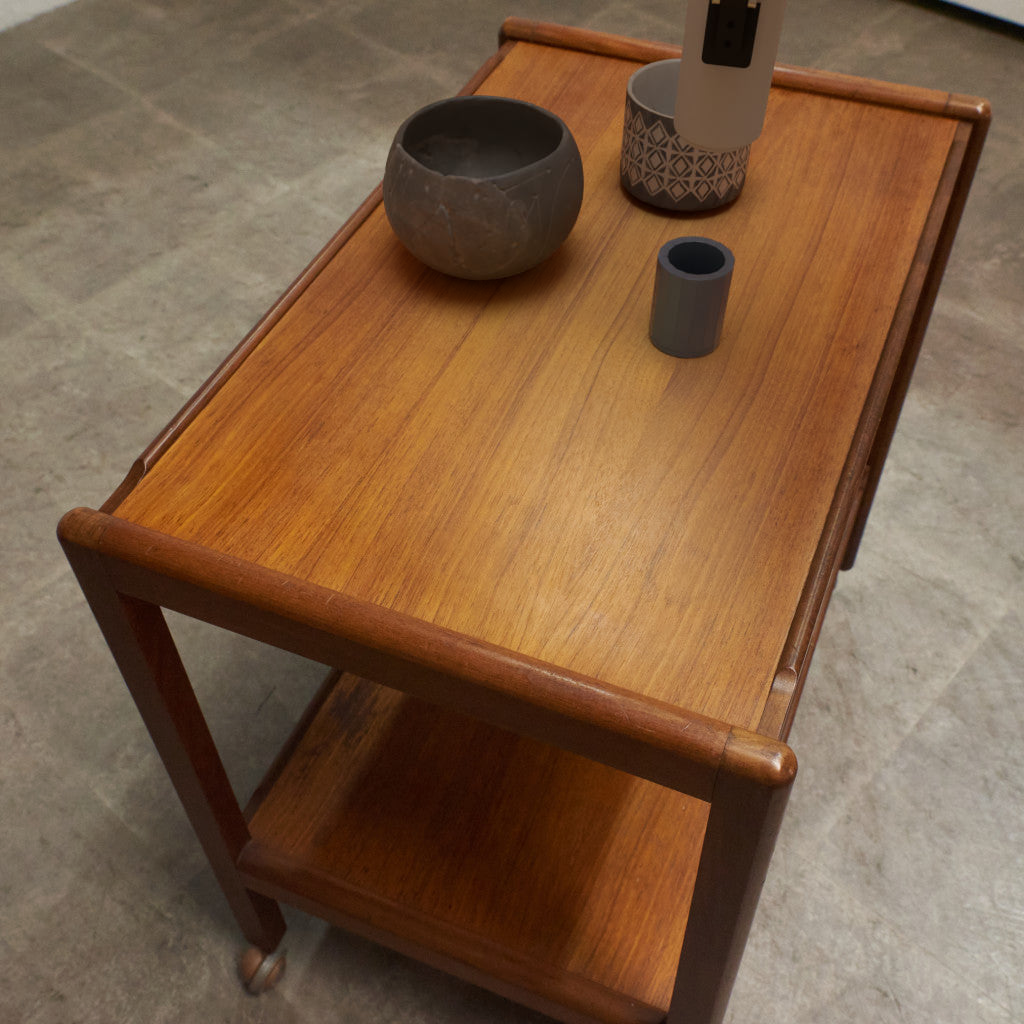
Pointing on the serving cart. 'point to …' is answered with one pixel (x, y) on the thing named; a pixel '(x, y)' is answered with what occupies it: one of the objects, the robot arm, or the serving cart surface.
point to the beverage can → (725, 84)
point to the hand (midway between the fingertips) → (732, 38)
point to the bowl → (483, 185)
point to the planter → (671, 149)
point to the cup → (690, 296)
